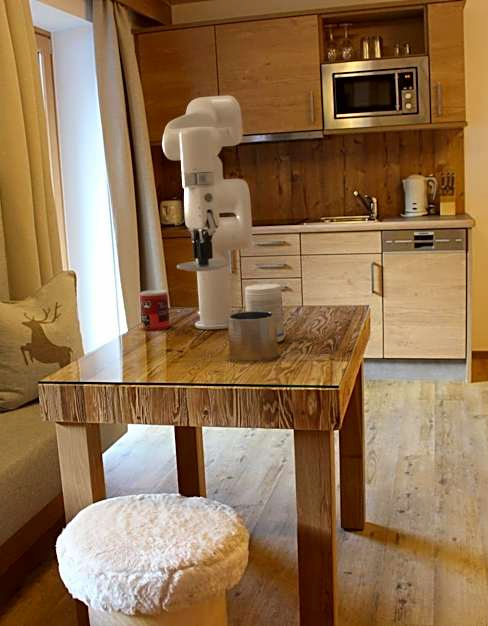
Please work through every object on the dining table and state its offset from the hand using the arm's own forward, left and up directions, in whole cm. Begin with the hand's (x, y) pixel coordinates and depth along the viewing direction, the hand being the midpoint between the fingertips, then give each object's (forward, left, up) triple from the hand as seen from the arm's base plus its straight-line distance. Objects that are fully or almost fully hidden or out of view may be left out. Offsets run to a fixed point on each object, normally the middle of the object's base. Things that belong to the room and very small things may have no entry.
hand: (203, 257), depth 198 cm
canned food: (-47, +6, -25) cm, 54 cm away
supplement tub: (-9, +21, -25) cm, 34 cm away
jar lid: (0, 0, -2) cm, 2 cm away
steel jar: (+5, +9, -25) cm, 27 cm away
